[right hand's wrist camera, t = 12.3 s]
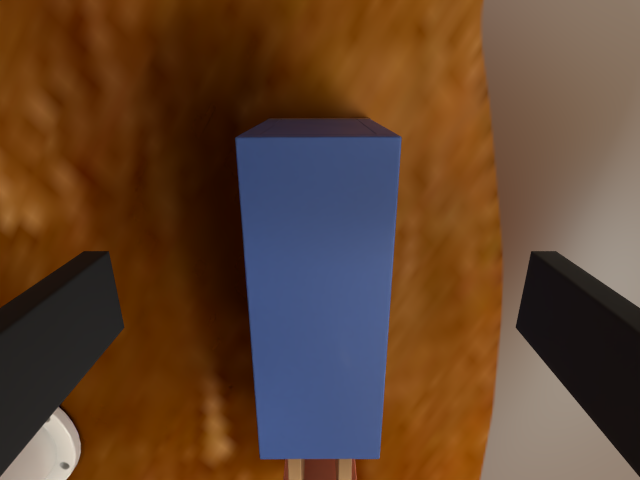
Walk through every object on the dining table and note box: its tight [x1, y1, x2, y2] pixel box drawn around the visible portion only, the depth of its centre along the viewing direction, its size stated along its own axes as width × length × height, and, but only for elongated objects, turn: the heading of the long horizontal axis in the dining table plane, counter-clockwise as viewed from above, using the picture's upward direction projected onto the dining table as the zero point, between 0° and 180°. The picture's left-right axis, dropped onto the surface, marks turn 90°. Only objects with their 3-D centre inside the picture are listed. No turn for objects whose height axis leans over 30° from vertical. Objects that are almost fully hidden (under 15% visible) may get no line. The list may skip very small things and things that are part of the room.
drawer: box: [283, 459, 357, 480], centre depth 28 cm, size 22×5×9 cm, turn 0°
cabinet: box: [235, 118, 401, 459], centre depth 24 cm, size 17×7×11 cm, turn 0°
